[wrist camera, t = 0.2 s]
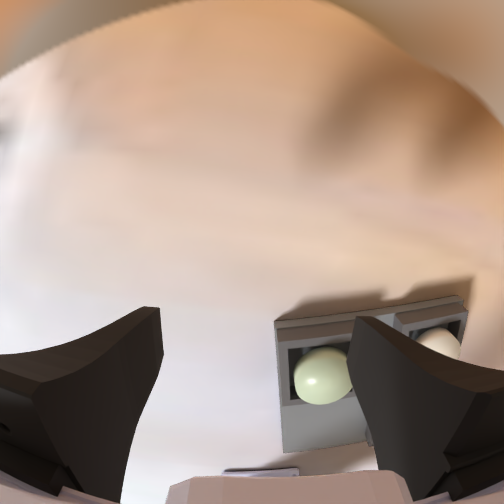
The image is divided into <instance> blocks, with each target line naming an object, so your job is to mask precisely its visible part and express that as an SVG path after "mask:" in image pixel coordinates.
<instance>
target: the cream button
mask: <svg viewBox="0 0 504 504" xmlns="http://www.w3.org/2000/svg"><path fill="white" fill-rule="evenodd" d="M415 341H416V342H418V343H420V344H422V345H424V346H426V347H428V348H430V349H432V350H434V351H436V352H439V353H441V354H444V355H446V356H448V357H451V358H454V359H456V360H458V358H459V356H460V350H461V348H460V343H459V341H458V340H457V339H456V338H455V337H454V336H453V335H452V334H451V333H450V332H449V331H448V330H447V329H445V328H442V327H436V328H432V329H429V330H427V331H426V332H424V333H423V334H421V335H420V336H419V337H418V338H417V339H416V340H415Z"/></svg>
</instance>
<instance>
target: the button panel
mask: <svg viewBox="0 0 504 504" xmlns="http://www.w3.org/2000/svg"><path fill="white" fill-rule="evenodd" d="M463 301H464V300H463V299H462V298H461V297H459V296H458V295H455V296H450V297H444V298H439V299H434V300H428V301H422V302H417V303H411V304H405V305H399V306H392V307H386V308H379V309H373V310H366V311H359V312H351V313H344V314H336V315H328V316H319V317H311V318H302V319H292V320H282V321H274V329H275V342H276V355H277V369H278V383H279V397H280V411H281V426H282V442H283V453H291V452H300V451H309V450H316V449H323V448H330V447H336V446H342V445H347V444H353V443H358V442H363V441H367V442H368V445H369V446H374V445H373V441H372V436H371V433H370V430H369V427H368V424H367V421H366V419H365V416H364V414H363V411H362V409H361V406H360V404H359V402H358V399H357V397H356V394H355V391H354V389H353V387H352V388H351V390H350V391H349V392H348V393H347V394H346V395H345V396H344V397H342V398H341V399H339V400H337V401H335V402H332V403H329V404H322V405H317V404H311V403H308V402H306V401H304V400H302V399H301V398H300V397H299V396H298V394H297V392H296V388H295V382H294V376H293V371H294V367H295V365H296V363H297V361H298V360H299V359H300V358H301V357H302V356H303V355H304V354H305V353H307V352H309V351H311V350H313V349H316V348H320V347H334V348H338V349H340V350H342V351H343V352H344V353H345V354H346V355H348V351H349V346H350V342H351V337H352V332H353V328H354V323H355V318H356V316H372V317H375V318H377V319H379V320H380V321H382V322H384V323H386V324H387V325H389V326H391V327H392V328H394V329H396V330H397V331H399V332H401V333H402V334H404V335H406V336H408V337H409V338H411V339H413V340H416V339H417V338H418V337H419V336H420V335H421V334H423V333H424V332H426V331H427V330H429V329H432V328H436V327H442V328H445V329H447V330H448V331H449V332H450V333H451V334H452V335H453V336H454V337H455V338H456V339H457V340H458V341H459V343H460V347H461V343H462V339H463V335H464V330H465V326H466V321H467V316H468V310H466V309H465V308H464V307H463Z"/></svg>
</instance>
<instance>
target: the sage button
mask: <svg viewBox="0 0 504 504" xmlns="http://www.w3.org/2000/svg"><path fill="white" fill-rule="evenodd" d="M346 359H347V355H346V354H345V353H344V352H343V351H342V350H340V349H338V348H334V347H320V348H316V349H313V350H311V351H309V352H307V353H305V354H304V355H303V356H302V357H301V358H300V359H299V360H298V361H297V363H296V365H295V367H294V371H293V376H294V382H295V388H296V392H297V394H298V396H299V397H300V398H301V399H302V400H304V401H306V402H308V403H311V404H317V405H322V404H329V403H332V402H335V401H337V400H339V399H341V398H342V397H344V396H345V395H346V394H347V393H348V392H349V391H350V390H351V388H352V387H353V386H352V384H351V381H350V377H349V372H348V368H347V363H346Z"/></svg>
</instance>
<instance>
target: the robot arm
mask: <svg viewBox="0 0 504 504" xmlns="http://www.w3.org/2000/svg"><path fill="white" fill-rule="evenodd" d="M163 355H164V351H163V341H162V330H161V318H160V308H157V307H146V306H144V307H141V308H139V309H137V310H135V311H133V312H131V313H129V314H127V315H126V316H124V317H122V318H120V319H118V320H116V321H115V322H113V323H111V324H109V325H107V326H105V327H103V328H101V329H99V330H97V331H95V332H93V333H91V334H88V335H86V336H84V337H81V338H79V339H76V340H73V341H71V342H68V343H65V344H61V345H58V346H54V347H50V348H46V349H42V350H37V351H31V352H25V353H17V354H2V355H0V504H120V499H121V492H122V486H123V481H124V475H125V470H126V466H127V461H128V457H129V452H130V448H131V444H132V441H133V437H134V433H135V430H136V426H137V424H138V421H139V418H140V416H141V414H142V411H143V409H144V407H145V404H146V402H147V400H148V398H149V395H150V393H151V391H152V388H153V386H154V384H155V382H156V379H157V377H158V374H159V370H160V367H161V363H162V359H163ZM346 363H347V368H348V372H349V377H350V381H351V384H352V386H353V389H354V391H355V394H356V397H357V399H358V402H359V404H360V406H361V409H362V411H363V414H364V416H365V419H366V421H367V424H368V427H369V430H370V433H371V436H372V441H373V445H374V449H375V453H376V458H377V464H378V469H379V470H363V471H355V472H347V473H338V474H328V475H315V476H299V469H297V468H290V469H279V470H265V471H245V472H223V473H222V476H201V477H193V478H191V479H188V480H185V481H183V482H180V483H178V484H175V485H172V486H170V489H169V492H168V495H167V498H166V503H165V504H504V371H502V370H496V369H490V368H485V367H481V366H476V365H473V364H469V363H466V362H463V361H459V360H456V359H454V358H451V357H448V356H446V355H444V354H441V353H439V352H436V351H434V350H432V349H430V348H428V347H426V346H424V345H422V344H420V343H418V342H416V341H415V340H413V339H411V338H409V337H408V336H406V335H404V334H402V333H401V332H399V331H397V330H396V329H394V328H392V327H391V326H389V325H387V324H386V323H384V322H382V321H380V320H379V319H377V318H375V317H372V316H356V318H355V323H354V328H353V332H352V337H351V342H350V346H349V351H348V355H347V359H346Z"/></svg>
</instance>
